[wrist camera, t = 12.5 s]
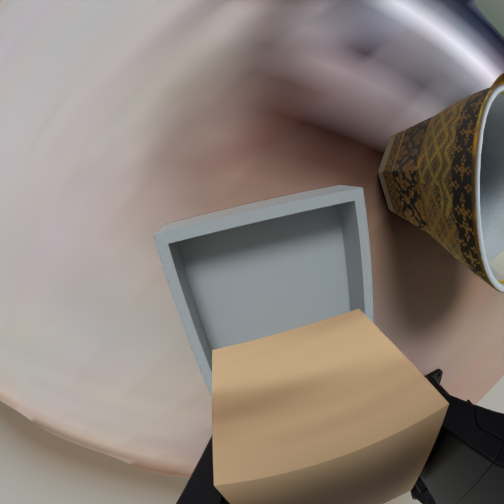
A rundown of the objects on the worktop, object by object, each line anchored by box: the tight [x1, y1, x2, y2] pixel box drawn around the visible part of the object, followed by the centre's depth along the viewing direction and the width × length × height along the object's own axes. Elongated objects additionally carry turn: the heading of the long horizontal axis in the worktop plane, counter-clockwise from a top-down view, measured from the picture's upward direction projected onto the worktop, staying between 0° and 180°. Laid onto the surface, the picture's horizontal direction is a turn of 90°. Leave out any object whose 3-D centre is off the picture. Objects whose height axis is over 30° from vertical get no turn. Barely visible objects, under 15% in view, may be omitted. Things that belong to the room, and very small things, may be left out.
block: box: [212, 308, 449, 504], centre depth 6 cm, size 4×4×4 cm
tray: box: [154, 185, 373, 396], centre depth 17 cm, size 16×11×3 cm
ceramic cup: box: [378, 73, 504, 293], centre depth 12 cm, size 13×10×10 cm
